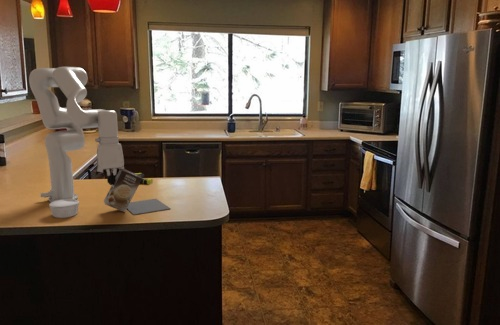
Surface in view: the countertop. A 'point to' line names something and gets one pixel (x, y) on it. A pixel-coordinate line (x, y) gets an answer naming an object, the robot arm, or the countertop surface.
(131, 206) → the mat
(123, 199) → the coffee box
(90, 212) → the countertop surface
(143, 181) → the stun gun
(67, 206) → the ramekin
